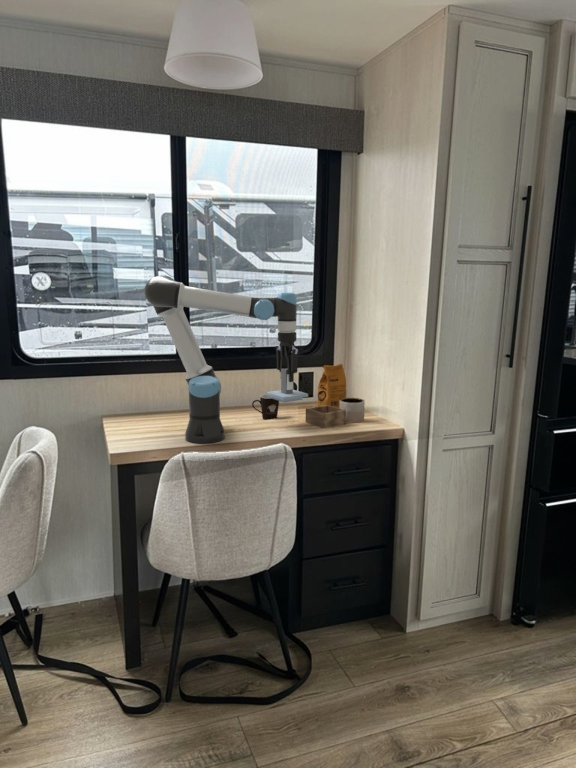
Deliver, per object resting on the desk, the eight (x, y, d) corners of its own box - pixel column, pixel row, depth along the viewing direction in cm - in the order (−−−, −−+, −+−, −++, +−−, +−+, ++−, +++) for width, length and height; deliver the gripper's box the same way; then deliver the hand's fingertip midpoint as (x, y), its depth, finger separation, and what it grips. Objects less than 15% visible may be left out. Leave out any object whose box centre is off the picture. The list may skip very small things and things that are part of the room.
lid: (283, 403, 231) (283, 372, 229) (266, 398, 241) (265, 368, 239) (308, 400, 238) (308, 369, 236) (290, 394, 248) (290, 365, 246)
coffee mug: (280, 416, 261) (280, 394, 259) (278, 421, 253) (278, 398, 251) (254, 415, 262) (254, 393, 261) (251, 420, 254) (251, 397, 252)
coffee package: (314, 410, 274) (315, 364, 270) (336, 407, 280) (337, 362, 276) (326, 414, 265) (327, 367, 261) (348, 411, 271) (349, 365, 267)
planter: (346, 425, 246) (346, 403, 245) (334, 419, 256) (335, 398, 255) (368, 423, 250) (369, 401, 249) (356, 417, 260) (357, 396, 259)
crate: (323, 430, 238) (323, 414, 237) (305, 424, 248) (305, 408, 247) (345, 426, 245) (345, 410, 244) (327, 420, 255) (327, 404, 253)
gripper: (307, 332, 230) (306, 391, 235) (282, 329, 243) (282, 384, 248) (291, 333, 226) (291, 393, 230) (267, 330, 239) (268, 386, 244)
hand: (286, 388), depth 239 cm, fingers closed on lid, 3 cm apart
